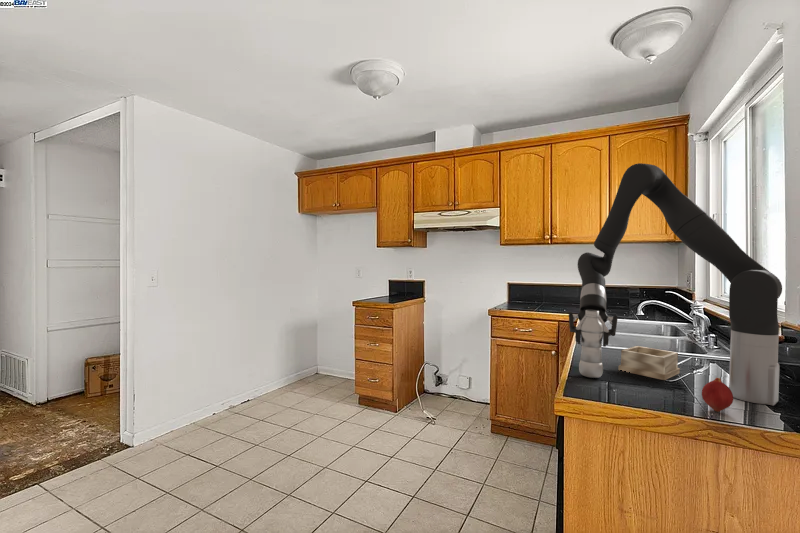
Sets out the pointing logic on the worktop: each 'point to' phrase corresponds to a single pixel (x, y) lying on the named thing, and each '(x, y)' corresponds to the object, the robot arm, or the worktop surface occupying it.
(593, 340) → the silver bottle
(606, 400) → the worktop surface
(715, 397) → the onion
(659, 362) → the wooden tray
